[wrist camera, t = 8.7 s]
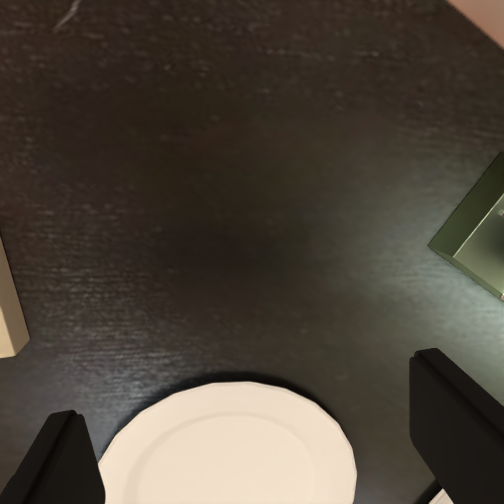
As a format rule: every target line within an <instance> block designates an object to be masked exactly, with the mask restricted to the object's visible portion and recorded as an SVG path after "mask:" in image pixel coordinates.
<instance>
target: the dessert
mask: <svg viewBox="0 0 504 504" xmlns="http://www.w3.org/2000/svg"><path fill="white" fill-rule="evenodd" d="M429 504H453V502H452V501H451V499H450V498H449V496H448V495H447V493H446V492H445V491H444V489H442V490H441V491H440V492H439V493H438V494H437V495H436V496H435V497H434V498H433V499H432V500H431V501H430V503H429Z"/></svg>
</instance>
